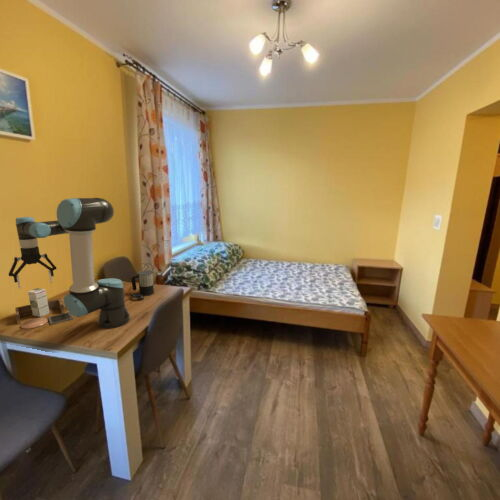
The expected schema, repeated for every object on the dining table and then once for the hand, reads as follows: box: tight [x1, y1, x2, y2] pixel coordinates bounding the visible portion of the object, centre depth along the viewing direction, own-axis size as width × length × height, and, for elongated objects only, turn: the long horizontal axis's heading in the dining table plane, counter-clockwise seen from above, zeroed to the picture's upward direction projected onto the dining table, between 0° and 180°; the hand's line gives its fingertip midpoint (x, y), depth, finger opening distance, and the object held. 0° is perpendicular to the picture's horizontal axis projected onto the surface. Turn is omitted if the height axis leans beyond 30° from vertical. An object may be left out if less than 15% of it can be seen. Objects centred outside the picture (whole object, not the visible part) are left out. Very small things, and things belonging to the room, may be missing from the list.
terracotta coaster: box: [20, 317, 49, 330], centre depth 141 cm, size 11×11×1 cm
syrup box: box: [27, 287, 50, 318], centre depth 150 cm, size 6×6×14 cm
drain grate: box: [47, 311, 74, 326], centre depth 147 cm, size 10×10×1 cm
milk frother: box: [130, 270, 155, 300], centre depth 178 cm, size 14×16×15 cm
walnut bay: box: [15, 298, 66, 325], centre depth 151 cm, size 12×20×5 cm, turn 131°
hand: (35, 285), depth 148 cm, fingers open, 13 cm apart
